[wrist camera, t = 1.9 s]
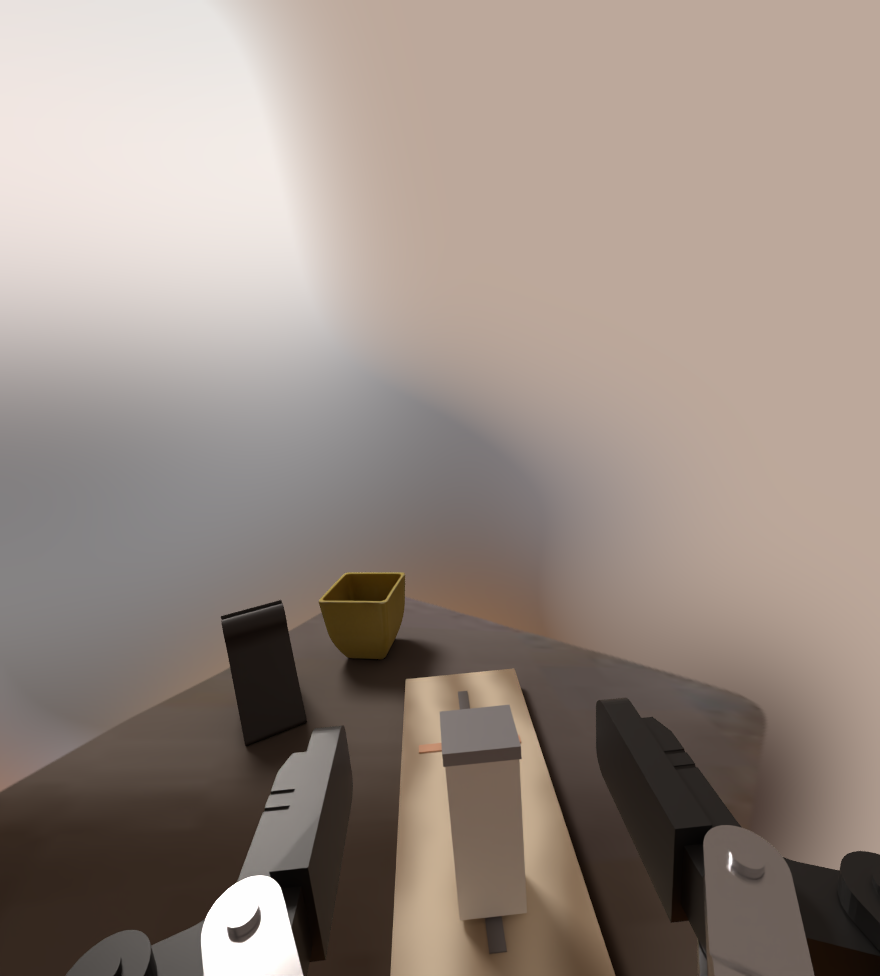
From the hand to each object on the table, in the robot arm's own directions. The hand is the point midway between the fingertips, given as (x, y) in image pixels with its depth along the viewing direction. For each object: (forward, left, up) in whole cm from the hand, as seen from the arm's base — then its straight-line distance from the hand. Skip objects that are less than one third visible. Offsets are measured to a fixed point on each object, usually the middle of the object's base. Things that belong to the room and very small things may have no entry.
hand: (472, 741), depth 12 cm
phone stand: (-20, +34, -24) cm, 46 cm away
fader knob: (+1, +12, -22) cm, 25 cm away
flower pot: (-10, +44, -24) cm, 51 cm away
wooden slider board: (+1, +20, -24) cm, 31 cm away
